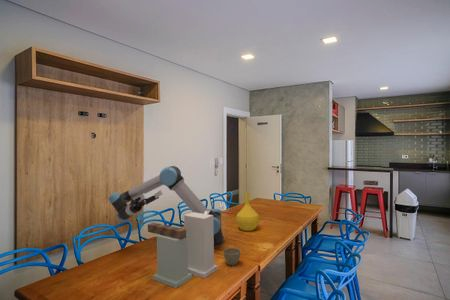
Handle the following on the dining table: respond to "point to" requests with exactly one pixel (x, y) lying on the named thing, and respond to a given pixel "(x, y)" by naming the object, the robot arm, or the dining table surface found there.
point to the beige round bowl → (232, 255)
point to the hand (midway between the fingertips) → (153, 193)
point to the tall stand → (200, 244)
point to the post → (172, 261)
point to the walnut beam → (167, 230)
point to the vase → (247, 217)
